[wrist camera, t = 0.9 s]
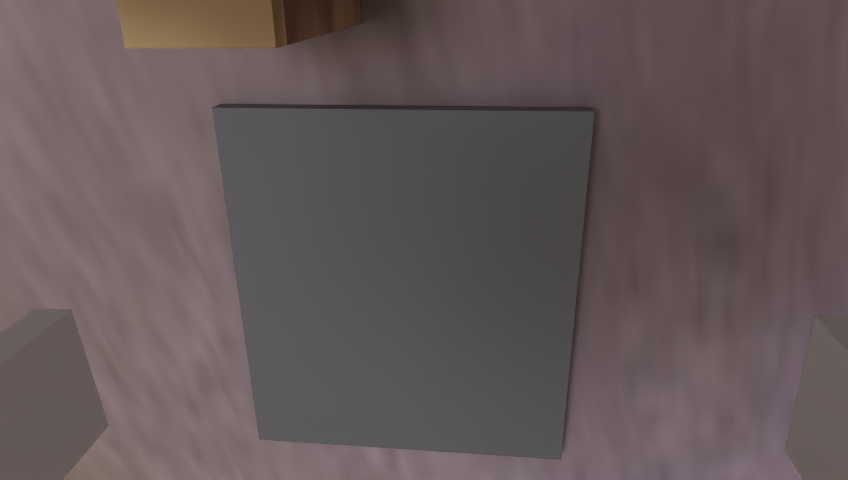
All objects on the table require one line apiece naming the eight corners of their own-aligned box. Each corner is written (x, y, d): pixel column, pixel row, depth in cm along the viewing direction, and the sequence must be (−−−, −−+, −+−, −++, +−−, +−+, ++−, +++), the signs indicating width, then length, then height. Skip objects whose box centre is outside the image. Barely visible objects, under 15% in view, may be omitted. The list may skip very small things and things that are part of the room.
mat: (220, 104, 30) (212, 107, 30) (591, 107, 29) (594, 111, 28) (264, 428, 38) (259, 439, 37) (559, 447, 36) (561, 459, 35)
